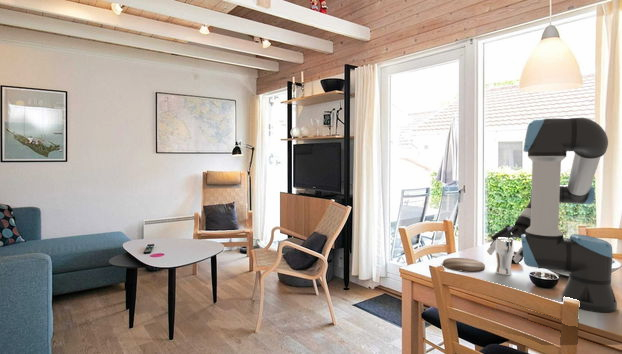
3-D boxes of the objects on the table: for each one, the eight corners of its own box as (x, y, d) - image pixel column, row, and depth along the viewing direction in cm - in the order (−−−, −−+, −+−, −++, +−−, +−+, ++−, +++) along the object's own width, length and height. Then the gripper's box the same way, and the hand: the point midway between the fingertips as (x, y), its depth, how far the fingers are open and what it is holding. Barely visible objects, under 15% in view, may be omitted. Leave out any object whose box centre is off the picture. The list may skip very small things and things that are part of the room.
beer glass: (515, 276, 156) (516, 241, 155) (497, 275, 157) (498, 240, 156) (509, 271, 163) (510, 237, 162) (492, 270, 164) (493, 237, 163)
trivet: (492, 271, 162) (492, 269, 162) (452, 272, 162) (452, 269, 162) (474, 260, 180) (474, 257, 180) (437, 260, 180) (437, 257, 180)
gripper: (558, 231, 153) (531, 270, 149) (508, 221, 176) (483, 255, 172) (550, 219, 151) (522, 259, 147) (500, 211, 174) (475, 245, 170)
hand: (501, 257), depth 159 cm, fingers open, 13 cm apart
